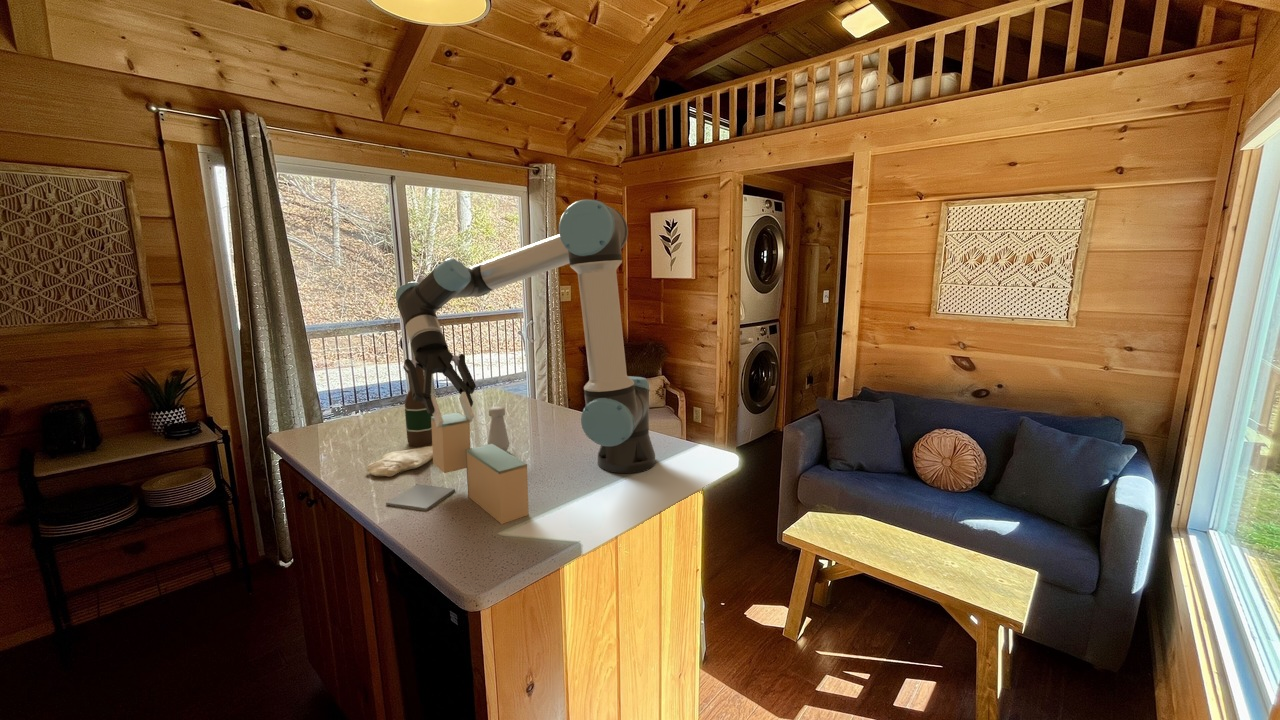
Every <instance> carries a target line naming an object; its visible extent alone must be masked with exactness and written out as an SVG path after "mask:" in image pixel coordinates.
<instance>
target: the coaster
mask: <svg viewBox="0 0 1280 720" xmlns="http://www.w3.org/2000/svg"><path fill="white" fill-rule="evenodd" d="M455 492H456V489H455V488H451V487H443V486H433V485H426V484H418V483H417V484H415V485H413V486H412V487H410V488H408V489H407V490H405V491H403V492H401V493H400V494H398V495H396V496H394V497H393V498H391V499H390V500H388V501H387V502H385V506H387V505H390V506H389V507H394V506H395V508H403V509H409V508H410V509H411V510H418V511H424V512H425V511H426V512H427V511H428V510H430V509H431V508H433V507H435V506H436V505H437V504H439V503H441V502H442V501H443V500H445V499H446V498H447V497H449V496H450V495H452V494H453V493H455Z"/></svg>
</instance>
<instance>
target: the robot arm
mask: <svg viewBox="0 0 1280 720" xmlns="http://www.w3.org/2000/svg"><path fill="white" fill-rule="evenodd" d="M561 214H562V215H561V217H560V220H559V223H558V234H555V235H553V236H551V237H548V238H545V239H542V240H540V241H539V240H538V241H536V242H534V243H532V244H528V245H526V246H523V247H521V248H518V249H515V250H513V251H510V252H507V253H505V254H502V255H499V256H496V257H493V258H491V259H487V260H485V261H483V262H480V263H477V264H475V265H472V266H469V267H467V266H465V265H464V263H462V262H461V261H460V260H457V259H455V258H452V257H448V258H446V259H444V260H443V261H442V262H440V263H439V264H437V265H436V266H435V267H434V269H433V270H432V271H431V272H429V273H428V275H426V276H425V277H424V278H423V279H422V280H421V281H420V282H418V281H409V282H407V283H406V284H401V285H400V286H399V287H398V288H397V289H396V292H395V299H396V300H395V301H396V304H397V306H396V307H397V309H398V311H399V313H400V316H401V318H402V321H403V324H404V327H405V331H406V334H407V337H408V340H409V343H410V346H411V348H412V349H411V350H412V353H413V356H414V358H413V359H409V358H407V359H405V361H404V363H403V367H402V369H403V370H404V371H405V372H406V375H407V377H408V378H407V379H408V381H409V385H410V387H411V391H412V395H413V400H414V401H415V402H418V401H422V403H423V404H424V405H425V407H426V410H427V413H428V414H433V417H434V420H435V423H436V426H437V428H441V426H442V423H443V419H442V416H441V415H442V413H441V410H440V408H439V404H438V401H437V398H436V396H435V395H432V379H433V375H434V374H436V373H438V374H442V375H444V377H446V378H447V379H448V380H449V382H450V383H451V384H452V385H453V387H454V388H455V389H456V391H457V392H458V393H459V395H460V396H459V397H458V398H459V403H460V405H461V407H462V410H463V414H464V417H466V418H467V419H469V420H470V423H472V421H473V419H474V418H475V415H474V412H473V408H472V407H473V405H474V401H473V397H472V396H471V395H473V394H474V392H475V389H476V388H477V384H476V382H475V381H474V379H473V377H472V374H471V372H470V370H469V368H468V366H467V363H466V355H465V354H464V353H459V355H455V354H454V355H453V353H452V352H451V351H450V350H449V348H448V347H449V346H448V344H447V342H446V341H447V340H446V338H445V336H444V333H443V331H442V327H441V324H440V322H439V320H438V316H437V312H438V311H439V310H441V309H442V308H443V307H444V306H445V305H446V304H448V302H449V301H451V300H452V299H460V298H472V297H475V298H478V297H484V296H485V295H488V294H490V293H491V292H492V291H494V290H496V289H500V288H503V287H506V286H508V285H512V284H514V283H517V282H519V281H520V282H521V281H523V280H526V279H529V278H531V277H535V276H537V275H541V274H543V273H546V272H549V271H551V270H554V269H557V268H560V267H563V266H567V265H569V268H571V269H572V270H573V271H574V272H575V273H576V274H577V280H578V288H579V289H578V290H579V297H580V299H579V300H580V307H581V314H582V325H583V332H584V334H583V335H584V341H585V349H586V358H587V368H588V377H589V378H588V379H589V380H588V381H587V382H586V383H585V385H584V386H583V391H584V400H585V406H584V407H583V409H582V413H581V415H580V423H581V428H582V430H583V433H584V434H585V435H586V437H587V438H588V439H590V441H592V442H593V443H594V444H596V445H599V449H598V453H597V466H598V467H599V468H601V469H602V470H604V469H605V471H607V472H611V473H617V474H636V473H640V472H641V471H642V472H644V470H645V471H647V469H648V470H650V469H652V468H653V467H655V465H654V464H656V453H655V450H654V447H653V444H652V440H651V437H650V431H649V429H650V425H649V424H650V423H649V422H650V391H651V389H650V382H649V380H648V378H646V377H642V376H631V375H628V374H627V363H626V353H625V346H624V345H625V343H624V337H623V336H624V334H623V326H622V325H623V324H622V314H621V313H622V312H621V305H620V294H619V293H620V292H619V285H618V284H619V283H618V276H617V275H618V274H617V269H618V268H619V267H620V265H621V264H622V263H623V259H622V258H623V257H622V249H623V247H624V246H625V245H626V242H627V241H628V237H629V236H628V235H629V228H628V224H627V221H626V219H625V217H624V216H623V215H622V213H621V212H620V211H619V210H617V209H615V208H614V207H612V206H608V205H607V204H605V203H604V202H602V201H600V200H596V199H580V200H577V201H574V202H573V203H571V204H570V205H569V206H568V207H567V208H566V209H565V210H564V212H563V213H561ZM451 362H454V365H455V366H456V367H457V371H458V372H459V374H458V372H457V371H456V370H455V369H454V366H453V364H452V363H451ZM416 365H417V366H419V367H420V368H422V369H423V375H424V389H423V393H421V390H420V385H419V381H418V377H417V373H416V369H415V368H416ZM410 387H409V388H410ZM430 396H431V397H430ZM651 467H652V468H651ZM649 468H650V469H649Z"/></svg>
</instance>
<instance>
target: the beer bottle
mask: <svg viewBox="0 0 1280 720" xmlns="http://www.w3.org/2000/svg"><path fill="white" fill-rule="evenodd" d="M415 369H416V373H417V377H418V381H419V385H420V390H421V393H423V389H424V370H423V369H422V368H420V367H419V366H417V365H416V368H415ZM431 396H432V395H431ZM431 396H430V397H431ZM404 413H405V414H404V417H405V427H406V439H407V444H408V445H409V444H410V445H409V447H417V446H421V447H426V446H431V445H432V425H431V417H432V416H433V414H428V413H427V410H426V407H425V405H424V404H423V403H422V401H418V402H415V401H414V400H413V395H412V391H411V387H409V391H408V392H407V394H406V395H405V399H404ZM425 445H426V446H425Z"/></svg>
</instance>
